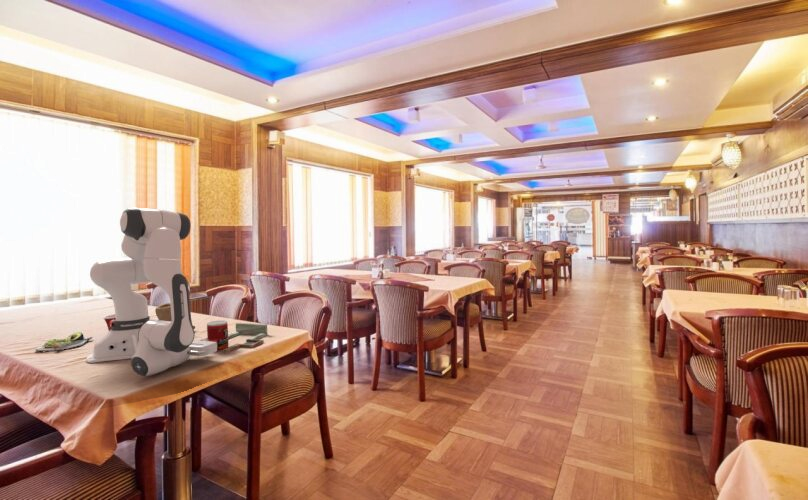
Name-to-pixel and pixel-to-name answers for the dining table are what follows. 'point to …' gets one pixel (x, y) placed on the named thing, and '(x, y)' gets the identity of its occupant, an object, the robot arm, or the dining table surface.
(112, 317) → the plastic cup
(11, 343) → the dining table surface
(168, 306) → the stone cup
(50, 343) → the salad plate
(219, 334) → the canned food
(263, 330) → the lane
